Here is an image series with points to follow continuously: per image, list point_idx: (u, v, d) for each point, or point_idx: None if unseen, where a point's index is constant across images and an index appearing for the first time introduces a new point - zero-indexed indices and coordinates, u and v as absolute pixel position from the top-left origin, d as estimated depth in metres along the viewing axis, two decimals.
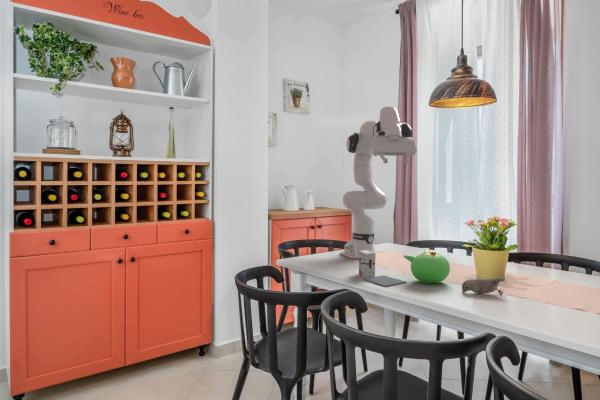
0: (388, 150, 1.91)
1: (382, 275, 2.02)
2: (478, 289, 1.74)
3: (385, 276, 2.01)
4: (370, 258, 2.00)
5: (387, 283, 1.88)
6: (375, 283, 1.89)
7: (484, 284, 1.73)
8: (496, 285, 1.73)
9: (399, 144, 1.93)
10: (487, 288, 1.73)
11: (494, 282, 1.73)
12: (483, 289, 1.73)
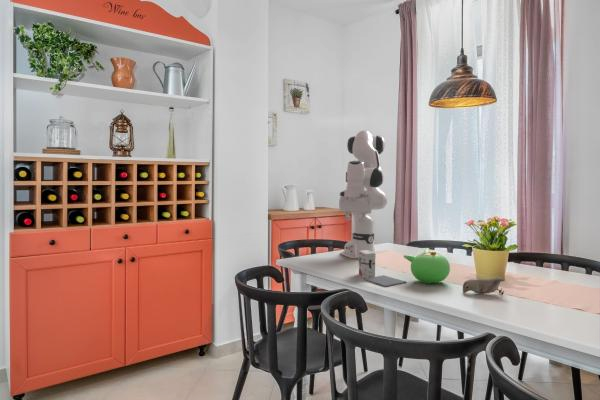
0: (347, 210, 2.12)
1: (382, 275, 2.02)
2: (479, 289, 1.74)
3: (385, 276, 2.01)
4: (370, 258, 2.00)
5: (387, 283, 1.88)
6: (375, 283, 1.89)
7: (485, 284, 1.73)
8: (497, 285, 1.73)
9: (355, 204, 2.07)
10: (488, 288, 1.72)
11: (495, 282, 1.73)
12: (484, 289, 1.73)
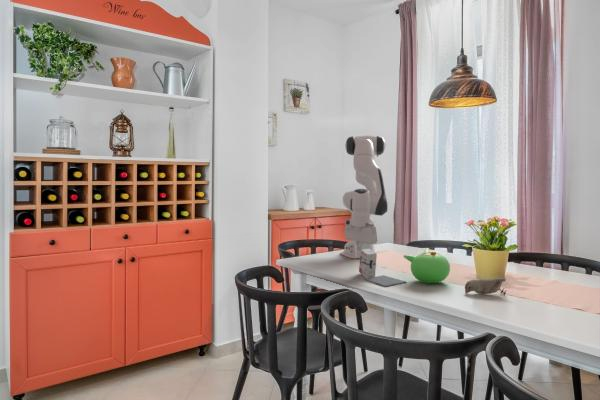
0: (353, 239, 2.09)
1: (382, 275, 2.02)
2: (481, 289, 1.73)
3: (385, 276, 2.01)
4: (371, 259, 1.99)
5: (387, 283, 1.88)
6: (375, 283, 1.89)
7: (487, 284, 1.73)
8: (499, 285, 1.72)
9: (361, 233, 2.04)
10: (490, 288, 1.72)
11: (497, 282, 1.72)
12: (486, 289, 1.72)
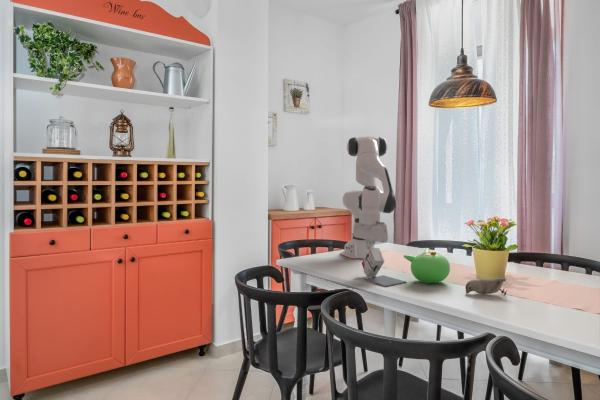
0: (362, 237, 2.03)
1: (382, 275, 2.02)
2: (482, 289, 1.73)
3: (385, 276, 2.01)
4: (377, 264, 1.94)
5: (387, 283, 1.88)
6: (375, 283, 1.89)
7: (487, 284, 1.72)
8: (500, 285, 1.72)
9: (371, 231, 1.98)
10: (491, 288, 1.72)
11: (498, 282, 1.72)
12: (487, 290, 1.72)
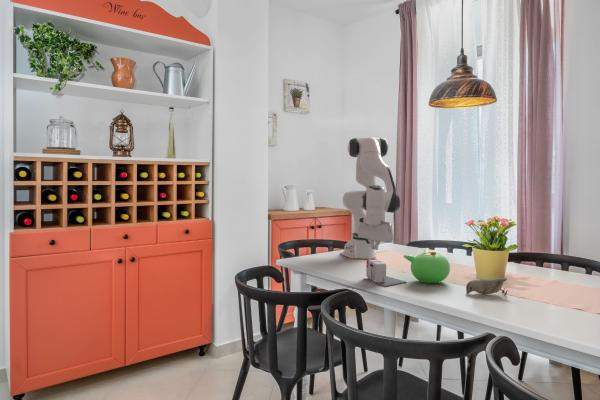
0: (367, 237, 2.01)
1: None
2: (483, 289, 1.73)
3: None
4: None
5: (387, 283, 1.88)
6: (375, 283, 1.89)
7: (488, 284, 1.72)
8: (500, 285, 1.72)
9: (376, 231, 1.96)
10: (492, 288, 1.72)
11: (498, 282, 1.72)
12: (488, 290, 1.72)
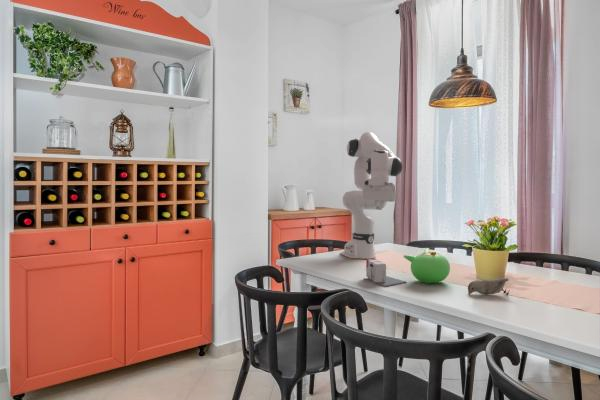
0: (371, 198, 2.14)
1: None
2: (485, 290, 1.72)
3: None
4: None
5: (387, 283, 1.88)
6: (375, 283, 1.89)
7: (490, 285, 1.72)
8: (502, 286, 1.72)
9: (380, 192, 2.10)
10: (493, 289, 1.71)
11: (500, 283, 1.72)
12: (489, 290, 1.72)
